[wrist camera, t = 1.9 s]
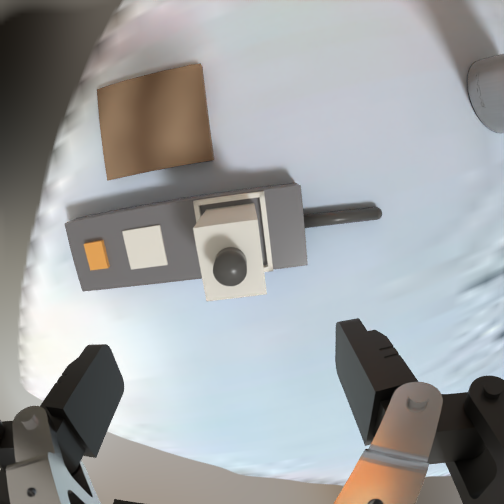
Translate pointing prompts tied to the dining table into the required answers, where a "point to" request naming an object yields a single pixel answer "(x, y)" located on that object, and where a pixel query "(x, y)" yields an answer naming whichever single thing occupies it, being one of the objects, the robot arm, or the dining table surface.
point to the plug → (230, 252)
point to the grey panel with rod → (190, 236)
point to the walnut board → (155, 122)
